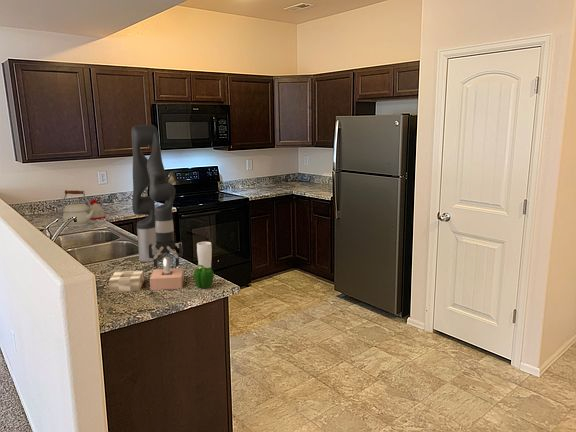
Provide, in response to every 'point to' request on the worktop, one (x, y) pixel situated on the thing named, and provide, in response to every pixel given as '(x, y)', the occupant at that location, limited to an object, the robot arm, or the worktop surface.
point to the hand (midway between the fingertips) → (166, 266)
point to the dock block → (167, 279)
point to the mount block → (126, 281)
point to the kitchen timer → (96, 210)
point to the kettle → (77, 211)
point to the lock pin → (166, 266)
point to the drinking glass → (204, 254)
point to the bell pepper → (203, 277)
